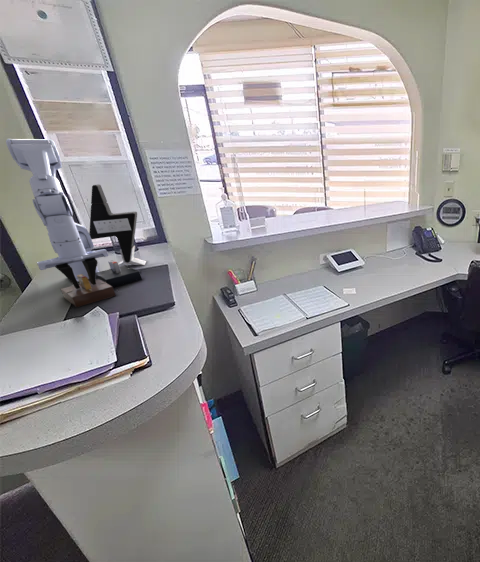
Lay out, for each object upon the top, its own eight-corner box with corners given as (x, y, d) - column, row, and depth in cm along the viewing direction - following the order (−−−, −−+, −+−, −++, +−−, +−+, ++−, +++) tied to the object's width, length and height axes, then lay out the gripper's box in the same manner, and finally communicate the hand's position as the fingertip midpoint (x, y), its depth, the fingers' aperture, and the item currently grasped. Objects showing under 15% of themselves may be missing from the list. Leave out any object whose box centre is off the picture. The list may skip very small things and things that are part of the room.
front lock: (81, 286, 91) (76, 274, 90) (86, 285, 92) (81, 273, 90) (86, 289, 88) (81, 277, 87) (91, 288, 89) (86, 276, 88)
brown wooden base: (64, 298, 91) (59, 288, 90) (102, 287, 98) (99, 278, 97) (75, 307, 84) (71, 297, 83) (116, 295, 91) (112, 285, 90)
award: (101, 271, 113) (69, 186, 102) (105, 267, 118) (74, 185, 107) (150, 264, 120) (124, 183, 109) (152, 260, 124) (128, 182, 113)
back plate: (96, 281, 103) (93, 272, 102) (128, 273, 110) (125, 264, 109) (109, 288, 97) (105, 279, 96) (142, 279, 104) (139, 270, 103)
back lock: (111, 271, 103) (107, 260, 102) (115, 270, 104) (112, 259, 103) (117, 273, 101) (113, 262, 99) (121, 272, 102) (117, 261, 100)
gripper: (33, 248, 77) (55, 297, 82) (104, 236, 88) (120, 280, 93) (27, 245, 81) (49, 292, 86) (96, 233, 92) (112, 276, 97)
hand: (85, 285), depth 90 cm, fingers open, 3 cm apart
